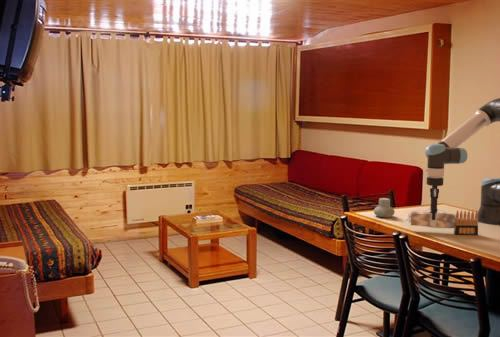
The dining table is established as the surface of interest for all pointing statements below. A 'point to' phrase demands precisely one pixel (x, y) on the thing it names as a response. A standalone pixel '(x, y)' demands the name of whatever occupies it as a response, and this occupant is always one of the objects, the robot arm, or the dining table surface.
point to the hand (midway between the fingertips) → (432, 225)
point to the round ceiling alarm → (423, 211)
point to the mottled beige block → (441, 219)
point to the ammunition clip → (466, 224)
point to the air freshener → (384, 208)
